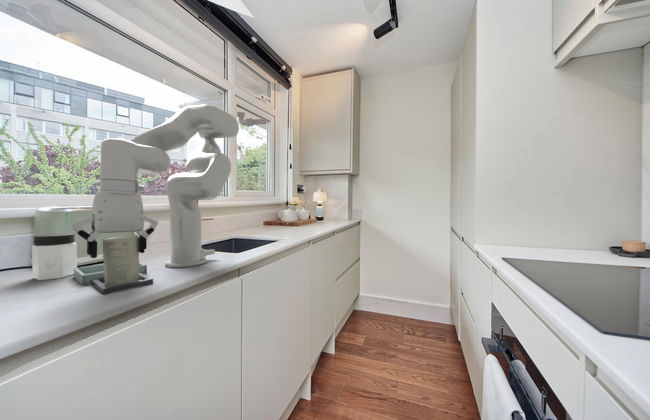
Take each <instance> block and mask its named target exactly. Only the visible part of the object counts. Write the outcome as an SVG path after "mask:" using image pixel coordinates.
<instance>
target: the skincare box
mask: <svg viewBox="0 0 650 420" xmlns="http://www.w3.org/2000/svg"><path fill="white" fill-rule="evenodd" d="M138 238H139V235H138V236H119V237H118V236H115V237H114V236H113V237H109V238H105V239H102V253H103V254H102V257H103V264H104V277H105V283H104V285H105V286H107V287H111V286H116V285H121V284H126V283H131V282H136V281H141V280H140V274H139V262H140V255H139V253H140V252H138Z"/></svg>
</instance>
